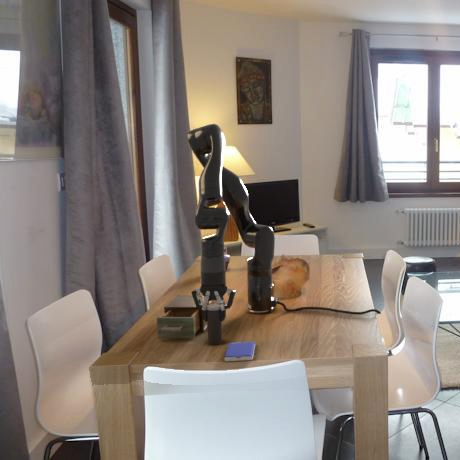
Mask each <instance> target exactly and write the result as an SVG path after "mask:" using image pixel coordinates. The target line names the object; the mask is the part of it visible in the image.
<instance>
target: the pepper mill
mask: <svg viewBox="0 0 460 460" xmlns="http://www.w3.org/2000/svg"><path fill="white" fill-rule="evenodd" d="M220 310H221V308H220V305H219V304H218V303H214V304H210V305H207V344H208V345H211V346H217V345H221V344H222V343H223V326H222V325H223V324H222V322H223V321H220Z"/></svg>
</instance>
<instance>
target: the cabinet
mask: <svg viewBox="0 0 460 460" xmlns="http://www.w3.org/2000/svg"><path fill="white" fill-rule="evenodd" d="M199 297H200V300H201V303H202V304H203V302H204V299H205V297H204V296H203V295H199ZM210 304H215V303H214V300H211V301H210V302H209V304H208V305H210ZM163 310H164V311H163V312H164V314H165V313H166V312H168V311H169V310H200V315H201V327H200V328H199V329H198V331H197V332H196V333H204V332H205V331H206V330H208V327H207V321H205V320H203V313H202V309H200V308H196V305H195V302H194V299H193V296H192V294H191V295H188V294H187V295H185V294H183V295H180V294H179V295H176V296H175V297H174V298H172V300H171V301H169V302H168V303H167V304H166V305H165V306H164V308H163Z"/></svg>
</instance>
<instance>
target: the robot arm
mask: <svg viewBox="0 0 460 460" xmlns="http://www.w3.org/2000/svg"><path fill="white" fill-rule="evenodd" d="M186 140H187V144H188V145H189V148H190V150H191V151H192V153H193V154H194V156H195V158H196V159H197V160H198V162H199V163H200V165H201V166H202V167H203V169H202V170H201V173H200V175H199V179H198V202H197V206H196V208H195V212H194V214H193V224H194V226H195V227H196V229H198V230H201V231H207V230H208V231H209V230H217V231H216V232H215V233H214V234H212V235H208V236H205V237H202V238H201V240H200V281H201V282H200V287H199V288H194V289H193V290H192V291H191V295H192V296H193V299H194V302H195V305H196V308H200V309H202V313H203V320H205V321H207V305H208V304H209V302H210V301H211V300H215V302H217V304H219V305H220V308H221V310H220V321H222V322H224V321H225V320H226V318H227V310H228V309H230V308H232V306H233V302H234V300H235V295H236V292H237V291H236V289H230V288H228V286H227V283H226V282H227V275H226V272H227V271H225V269H226V265H225V257H224V253H225V252H224V246H225V237H226V233H227V229H228V226H229V222H230V217H231V219H232V221H233V222H234V224H235V226H236V229H237V231H238V234H239V236H240V238H241V239H240V240H242V242H243V244H244V245H245V246H246V247H248V248H251V249H254V253H253V254H254V255H253V256H252V257H249V258H248V259H247V261H246V276H247V277H246V281H247V282H246V284H247V286H246V287H247V303H246V308H247V312H248V313H250V314H259V315H260V314H267V313H272V312H273V311H274V308H277V306H278V305H280V306H282V307H283V310H284V311H285V312H299V311H303V310H317V311H319V310H320V311H328V312H335V313H341V314H347V315H357V316H359V315H366V314H368V313H372V312H373V313H377V314H379V315H381V314H382V312H381V311H379V310H378V309H376V308H371V309H367V310H364V311H350V310H344V309H336V308H331V307H324V306H301V307H297V308H293V309H291V308H287V305H286V304H285V303H284V302H282V301H280V300H279V297H278V296H275V295H274V293H275V289H274V284H273V261H274V258H275V246H276V245H275V244H276V243H275V239H276V238H275V232H274V230H273V228H272V227H271V226H268V225H265V224H258V223H257V222H256V221H255V220H254V218H253V216H252V214H251V212H250V209H249V202H250V201H249V200H250V199H249V193H248V190H247V188H246V186H245V185H244V183H243V181H242V179H241V177H239V175H237V174H236V173H234V171H232V170H230V169H228V168H226V167H225V166H223V164H224V157H225V149H226V138H225V134H224V132H223V130H222V129H221V127H220V126H219V125H218V124H216V123H210V124H206V125H203V126H200V127H197V128H196V127H195V128H193V129H190V130H189V131H188V132H187V133H186ZM221 202H222V203H223V204H224V205H225V207H223V206H218V205H219V204H221ZM226 293H227V297H228V299H227V303H226V300H225V297H224V296H225V295H226ZM202 294H203V295H202ZM201 295H202V296H204V297H205V299H204V302H203V304H202V303H201V300H200V297H199V296H201Z"/></svg>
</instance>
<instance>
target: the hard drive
mask: <svg viewBox="0 0 460 460" xmlns="http://www.w3.org/2000/svg"><path fill="white" fill-rule="evenodd" d="M255 348H256V341H236V342H228V344H227V348H226V351H225V355H224V362H239V361H242V362H243V361H252V360H253V359H254V354H255Z"/></svg>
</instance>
